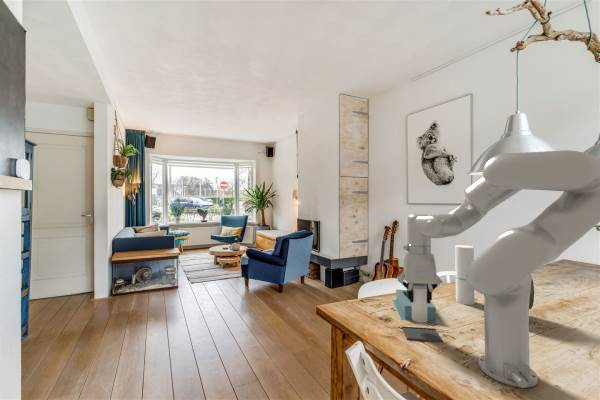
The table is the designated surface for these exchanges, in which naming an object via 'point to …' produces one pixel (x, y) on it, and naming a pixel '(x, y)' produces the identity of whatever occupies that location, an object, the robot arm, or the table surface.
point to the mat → (421, 334)
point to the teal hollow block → (405, 307)
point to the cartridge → (419, 302)
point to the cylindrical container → (463, 274)
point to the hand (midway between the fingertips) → (419, 301)
